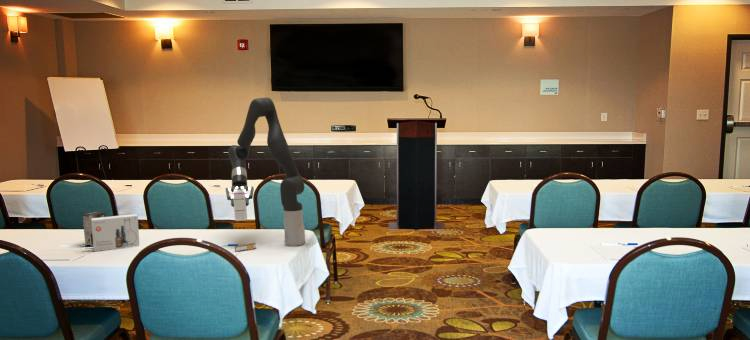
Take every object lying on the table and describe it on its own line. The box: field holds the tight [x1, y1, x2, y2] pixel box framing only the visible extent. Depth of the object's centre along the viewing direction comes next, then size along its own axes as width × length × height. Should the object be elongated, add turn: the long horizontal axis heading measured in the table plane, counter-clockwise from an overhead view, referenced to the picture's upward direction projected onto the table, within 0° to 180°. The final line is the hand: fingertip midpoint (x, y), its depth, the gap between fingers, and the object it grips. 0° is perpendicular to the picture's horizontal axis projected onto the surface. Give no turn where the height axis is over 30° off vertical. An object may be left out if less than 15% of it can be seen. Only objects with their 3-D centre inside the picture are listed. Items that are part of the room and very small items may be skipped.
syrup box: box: [232, 190, 248, 222], centre depth 295 cm, size 6×6×14 cm
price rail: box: [234, 242, 257, 253], centre depth 287 cm, size 10×2×2 cm, turn 123°
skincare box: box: [91, 213, 140, 252], centre depth 298 cm, size 21×5×16 cm, turn 117°
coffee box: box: [82, 211, 106, 247], centre depth 307 cm, size 9×6×16 cm
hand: (240, 205), depth 293 cm, fingers closed on syrup box, 6 cm apart
